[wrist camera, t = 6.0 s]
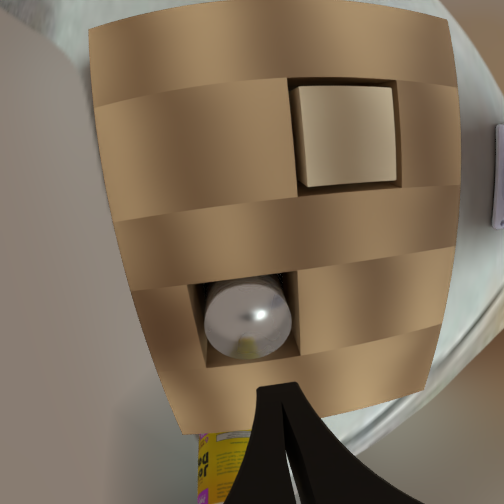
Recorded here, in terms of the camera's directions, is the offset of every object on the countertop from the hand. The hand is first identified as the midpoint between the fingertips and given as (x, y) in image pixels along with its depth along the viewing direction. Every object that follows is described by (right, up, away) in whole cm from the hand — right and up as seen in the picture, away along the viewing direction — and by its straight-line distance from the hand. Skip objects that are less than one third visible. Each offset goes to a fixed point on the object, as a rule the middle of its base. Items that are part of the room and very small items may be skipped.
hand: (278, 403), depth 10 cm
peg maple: (+3, +12, +6) cm, 13 cm away
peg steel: (-1, +4, +9) cm, 10 cm away
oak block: (+1, +7, +8) cm, 11 cm away
